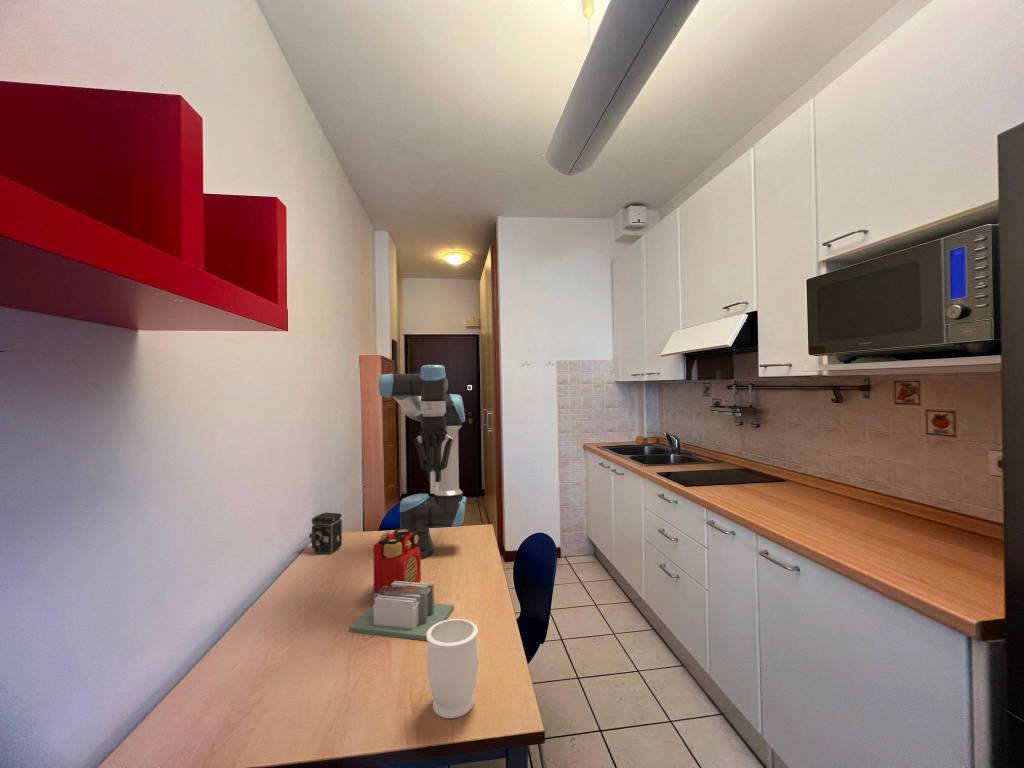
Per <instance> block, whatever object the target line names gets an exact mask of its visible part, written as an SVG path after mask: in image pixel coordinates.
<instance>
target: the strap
mask: <svg viewBox="0 0 1024 768" xmlns="http://www.w3.org/2000/svg"><path fill="white" fill-rule="evenodd" d="M421 591H422V592H427V594H428V593H429V592H430V591H431V587H417V586H406V587H383V588H382V589H380V590H379V591H378V592H379V593H381V595H383V594H389V595H420V592H421Z"/></svg>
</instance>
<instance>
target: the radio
mask: <svg viewBox="0 0 1024 768" xmlns="http://www.w3.org/2000/svg"><path fill="white" fill-rule="evenodd" d="M410 531H411V529H410V528H400V527H399V528H396V529H394V531H393V532H391V533H390V531H385V532H384V533H382V534H381V536H380V537H379V538H380V539H379V540H378V541H377V542H376V543H375V544H373V595H374V594H375V593H379V592H378V591H379V590H380V589H382V587H383V586H389V587H392V583H394V581H402V582H414V583H421V580H422V579H421V578H422V571H421V569H422V567H421V565H422V563H421V560H422V559H421V552H420V547H415V546H416V545H417V543H418V533H415V532H410Z"/></svg>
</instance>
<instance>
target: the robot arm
mask: <svg viewBox="0 0 1024 768" xmlns="http://www.w3.org/2000/svg"><path fill="white" fill-rule="evenodd" d="M448 389H449V381H448V378H447V377H446V368H445V366H444V365H441V364H425V365H422V366H421V367H420V373H388V374H385V373H384V374H381V375H380V376H379V380H378V393H379V395H380V396H381V397H383V398H393V399H394V400H395V402H397V403H398V405H399V406H400V408H401V409H400V410H401V411H402V413H403V414H404V415H405V416H407V417H408V418H409V419H412V420H414V421H417V422H420V427H421V431H420V433H419V435H418V436H417V437H414V438H413V439H412V442H413V444H414V445H415V447H416V450H417V455H418V456H417V457H418V458H419V464H420V468H421V469H422V470H424V471H426V472H427V482H428V483H430V485H429V487H430V488H429V490H430V491H429V492H430V493H429V494H432V495H433V496H434V497H430V495H429V494H428V493H416V494H412V495H408V496H406V497H404V498H402V499H401V501H400V504H399V520H400V521H399V528H410V529H411V531H410V532H415V533H418V543H417V545H416V546H415V547H420V552H421V560H422V559H426V558H428V557H430V556H433V554H434V553H435V546H434V542H433V540H432V539H433V538H432V537H431V532H430V528H440V527H441V528H442V527H443V528H444V527H446V528H447V527H452V528H453V527H460V526H461V525H463V523H464V519H465V512H466V511H465V510H466V505H467V504H466V502H467V497H466V496H464V495H463V491H462V489H460V482H459V481H460V478H459V477H460V469H459V463H460V462H459V430H460V429H461V427H462V426H463V425H462V424H463V423H464V422H466V417H465V408H464V402H463V398H462V396H461V395H460V394H455V393H453V394H452V393H446V392H447V391H448ZM423 443H424V444H425V446H424V444H423ZM425 449H426V451H425Z"/></svg>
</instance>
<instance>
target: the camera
mask: <svg viewBox="0 0 1024 768" xmlns="http://www.w3.org/2000/svg"><path fill="white" fill-rule="evenodd" d="M341 517H342V514H341V513H336V512H322V513H319V514H317V515H316V516H313V517H312V518H311V524H312V526H311V533H309V538H310V543H311V548H312V549H313V550H314V554H330V555H331V554H332V553H334V551H336V550H339V549H340V548H341V547H342V545H343V531H342V530H343V529H342V528H343V527H342V526H343V525H342V520H343V519H342V518H341Z"/></svg>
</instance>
